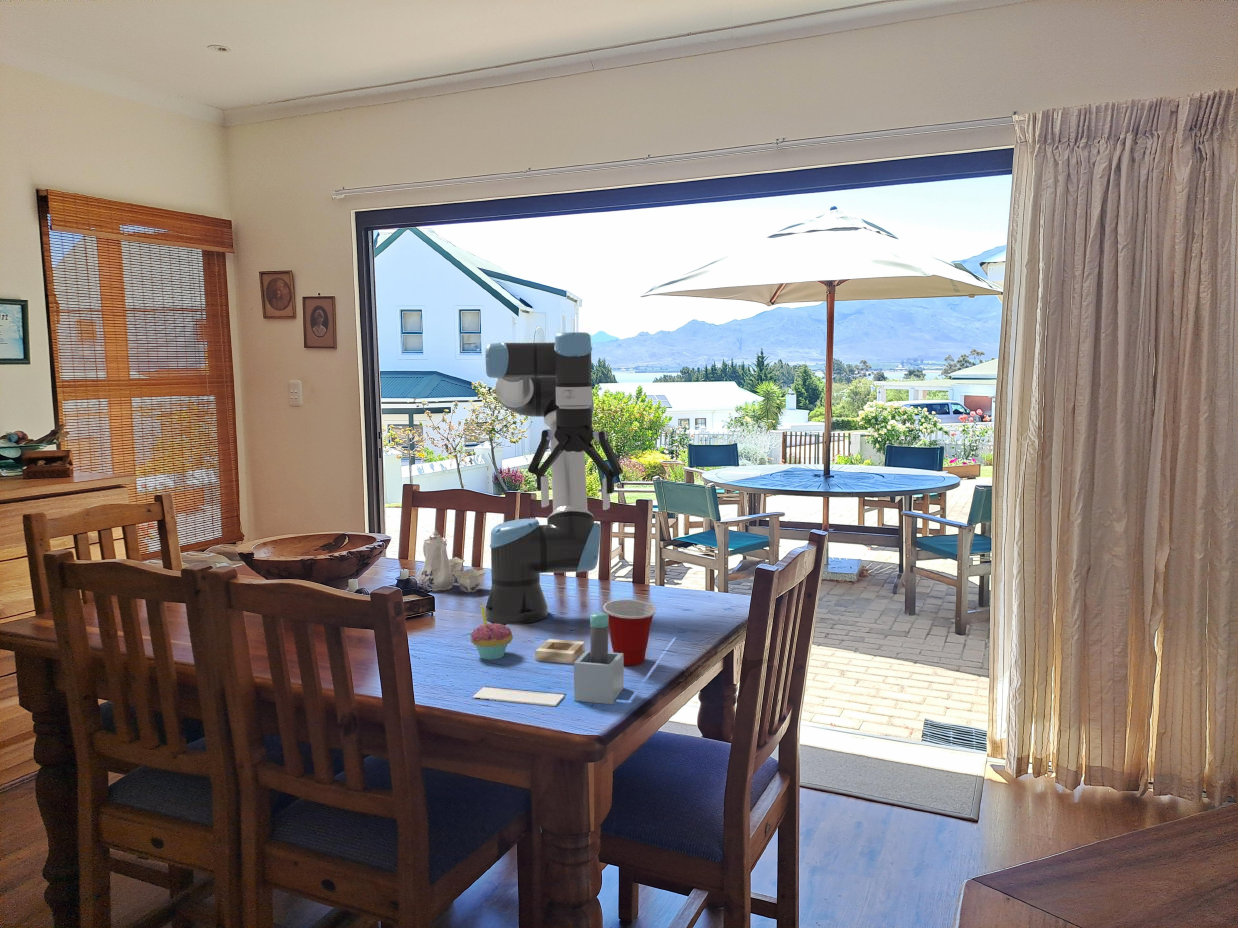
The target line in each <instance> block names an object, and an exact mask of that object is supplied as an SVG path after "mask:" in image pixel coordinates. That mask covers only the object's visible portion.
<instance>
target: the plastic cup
mask: <svg viewBox="0 0 1238 928" xmlns="http://www.w3.org/2000/svg"><path fill="white" fill-rule="evenodd" d="M602 609H603V611H604V613H607V614H608V615H609V618H608V634H609V638H610V639H609V640H610V643H611V645H610V646H611V648H612V652H613V653H623V664H624V667H636V666H640V665H642V664H643V663H644V662H645V659H646V654H647V649H648V643H649V637H650V631H651V624H652V621H653V619H654V616H655V614H656V611H657V610H658V609H657V607H656V605H653V604H652V603H650V602H647V601H643V600H637V599H615V600H611V601H608V602H606V603H604V605H603V606H602Z"/></svg>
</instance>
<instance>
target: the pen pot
mask: <svg viewBox="0 0 1238 928" xmlns="http://www.w3.org/2000/svg"><path fill="white" fill-rule="evenodd" d="M624 667H625V666H624V664H623V653H613V651H612V652H611V651H610V652H609V651H608V664H600V663H590V650H586V649H585V652H584V653H583V654H582V655H581V656H580V657H579V658H578V659H577V660H576V661H575V662H574V663H573V691H574V692H573V694H574V701H575V702H582V703H583V702H585V703H594V704H604V705H605V704H606V705H614V704H615V703H616V701H617V700H618V698H617V697H618V696H619V695H620V693H621V692H622V691H623V689H624V685H625V684H624V683H625V680H624V679H625V678H624V675H625V674H624V672H625V671H624Z"/></svg>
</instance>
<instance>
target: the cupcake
mask: <svg viewBox="0 0 1238 928" xmlns="http://www.w3.org/2000/svg"><path fill="white" fill-rule="evenodd" d="M480 611H481V615H482V616H481V617H482V621H483V624H482V625H479V626H477V627H476V628H474V630H473V631H472V632H471V634H470V642H471V643H472V644H473V645H474V646H475V648H476V650H477V652H478V655H479V658H480V659H483V660H497V659H500V658H503V657H504V656H505V653H506V649H507V647H508V644H510V643H512V641H513V639H514V637H513V633H512V631H511V628H509V627H508V626H506V625H505V624H500V623H494V622H490V623H488V622H487V621H488V620H487V619H486V615H485V606H484V605H483V603H482V601H480Z"/></svg>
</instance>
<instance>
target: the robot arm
mask: <svg viewBox="0 0 1238 928" xmlns="http://www.w3.org/2000/svg"><path fill="white" fill-rule="evenodd" d="M591 339H592V337H591V335H590V333H588V332H586V331H585V332H582V331H581V332H579V331H578V332H576V331H575V332H572V331H570V332H568V331H567V332H566V331H565V332H558V333H556V334H555V336H554V342H504V341H503V342H502V341H501V342H494V343H488V344H487V345H486V347H485V352H484V353H485V373H486V376H487V377H488V378H491V379H497V380H496V383H495V387H494V388H495V396H496V398H497V400H498V402H499V403H500V404H501V405H502V406H503V407H504V408H505V409H507V410H508V411H509V410H510V412H514V413H516V414H518V415H521V416H525V417H534V418H535V417H543V421H544V425H546V426H547V427H549V428H550V429H549V428H547V429H544V430H542V431H541V435H540V436H541V439H540V441H539V445H538V446H537V449H536V450H535V453H534V455H533V457H532V459H531V462H530V463H529V467H528V468H527V472H528V473H529V474H533V475H535V477H536V490H537V491H538V492H540V496H541V497H540V499H541V500H540V501H541V502H540V504H541V508H546V507H548V506H550V489H549V487H550V485H549V483H550V478H549V477H550V476H549V474H546V473H547V472H548V470H549V469H550V468H551V489H552V491H551V492H552V513H550V514H549V515H548V516H547V518H546V520H547V521H546V522H547V524H540V522H539V520H538V519H536V518H521V519H520V518H519V519H518V518H517V519H514V520H509V521H504V522H502V523H498V524H496V525H494V527H493V528H492V529H491V531H490V543H489V548H490V565H491V570H490V571H491V586H490V587H491V588H490V591H489V594H488V598H487V600H486V604H485V606H484V610H485V615H486V620H487V621H489V622H490V623H498V624H502V625H508V624H530V623H531V624H532V623H534V622H538V621H542V620H544V619H546V618H547V617H548V616H549V615H548V614H549V613H548V603H547V601H546V598H545V595H544V591H543V589H542V586H541V578H540V577H541V576H540V574H546V573H547V574H549V573H550V574H551V573H575V572H576V573H580V572H588V571H589V572H590V571H594V570H595V569H596V568H597V565H598V561H599V554H600V544H601V533H602V532H601V529H602V528H601V527H602V525H601V524H600V523H598V522H595V516H594V514H593V513H592V512H591V511H589V510H588V492H587V476H586V475H587V474H586V473H587V471H586V456H585V455H587V456H588V457H589V458H590V459H591V461H592V462H593V463H594V464H595V465H596V466H597V468H598V469H599V470H600V471H601V473H602V474H603V475H604V476H605V477H603V478H602V480H601V481H602V510H603V511H607V510H609V509H610V508H611V502H610V501H611V495H612V494H613V493H614V492H615V477H619V476H620V475H622V474H623V472H624V471H623V468H622V466H621V465H620V462H619V459H618V458H617V455H616V454H615V452H614V450H613V447H612V446H611V443H610V442H609V437H608V431H607V430H606V429H603V430H601V431H600V430H599V431H594V430H593V415H594V411H595V408H594V407H595V405H594V404H595V403H594V400H593V398H594V397H593V391H592V390H593V389H592V351H593V347H592V341H591ZM594 438H595V439H596V441H597V442H598V443H599V445H600V446H601V447H600V448H601V449H602V452H603V453H604V455H605V457H606V459H607V462H608V463H607V462H606V461H605V459H604V458H603V457H602V456H601V454H600V453H599V452H598V451H597V450H596V449H597V448H596V447H595V446H594V444H593V443H592V441H593V440H594ZM549 445H550V454H549V455H548V456H547V458H545V460H544V461H543V459H544V458H543V457H544V456H545V453H546V451H547V449H548V447H549ZM542 461H543V463H542ZM541 463H542V464H541ZM540 464H541V465H540Z"/></svg>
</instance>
